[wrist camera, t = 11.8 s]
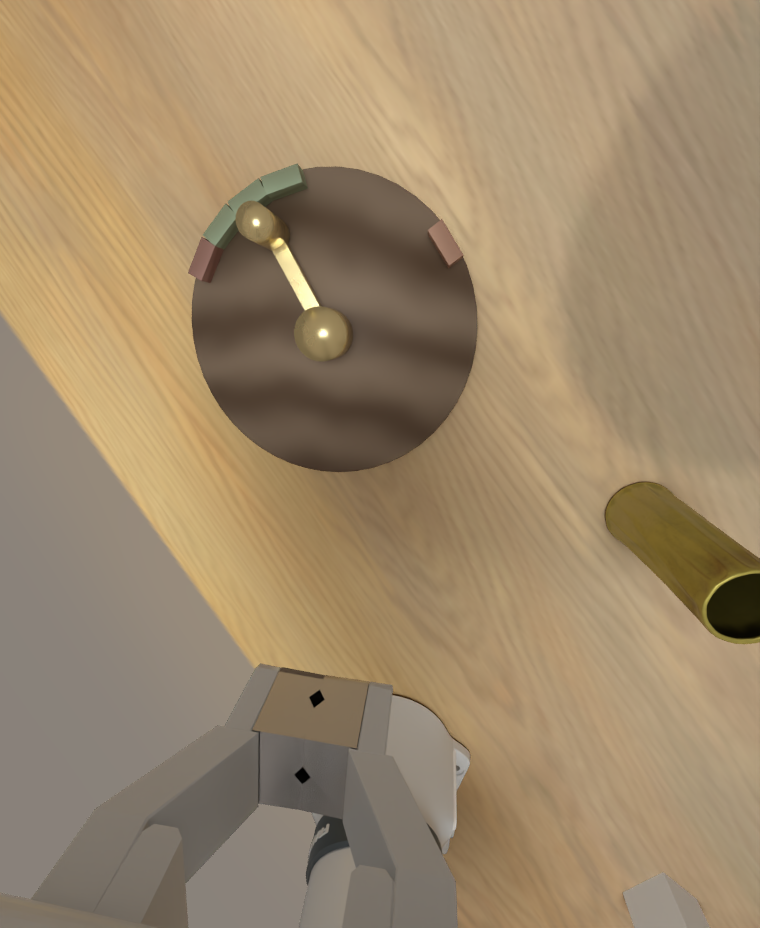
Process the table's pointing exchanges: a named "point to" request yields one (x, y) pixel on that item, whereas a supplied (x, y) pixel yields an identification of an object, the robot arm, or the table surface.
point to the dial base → (356, 296)
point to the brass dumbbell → (297, 286)
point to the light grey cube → (663, 905)
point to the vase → (691, 559)
